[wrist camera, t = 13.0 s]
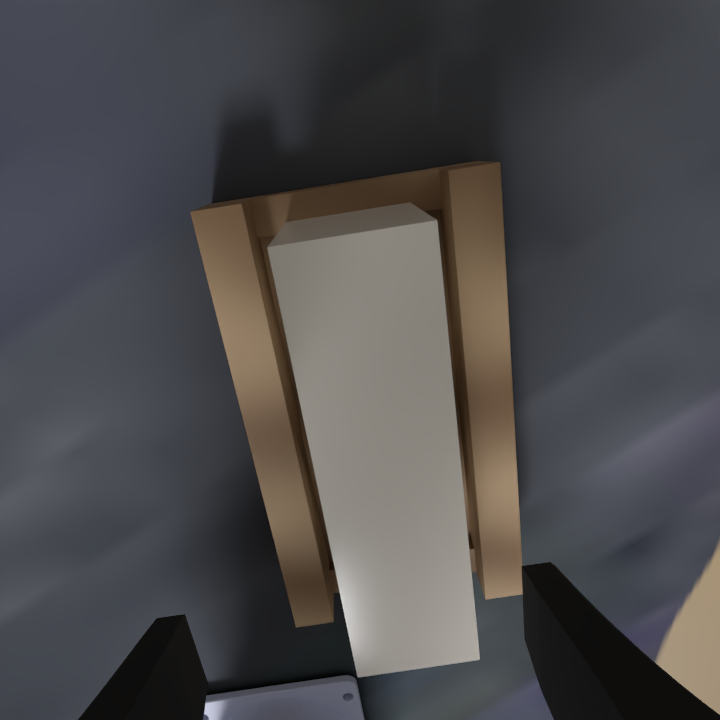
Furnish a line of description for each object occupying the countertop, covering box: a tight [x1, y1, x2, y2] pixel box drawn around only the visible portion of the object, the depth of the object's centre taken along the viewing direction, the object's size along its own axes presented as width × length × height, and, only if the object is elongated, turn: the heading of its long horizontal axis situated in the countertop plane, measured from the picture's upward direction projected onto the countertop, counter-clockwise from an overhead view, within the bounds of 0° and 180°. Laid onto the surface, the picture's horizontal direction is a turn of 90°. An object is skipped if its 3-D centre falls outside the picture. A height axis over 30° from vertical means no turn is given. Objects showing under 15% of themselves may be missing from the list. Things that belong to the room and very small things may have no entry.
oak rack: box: [190, 161, 523, 628], centre depth 20 cm, size 16×9×3 cm, turn 9°
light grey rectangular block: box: [267, 202, 480, 678], centre depth 17 cm, size 14×4×5 cm, turn 9°
